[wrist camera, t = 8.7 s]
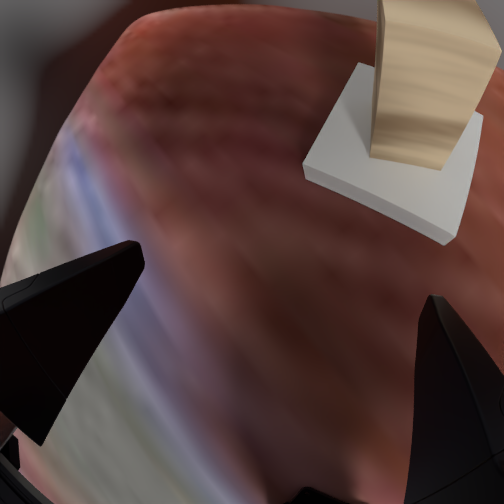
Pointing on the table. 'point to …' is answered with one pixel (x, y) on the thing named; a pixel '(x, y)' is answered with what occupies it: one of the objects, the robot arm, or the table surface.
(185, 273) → the table surface
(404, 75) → the oak block
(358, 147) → the tile base
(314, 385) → the table surface
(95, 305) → the robot arm
